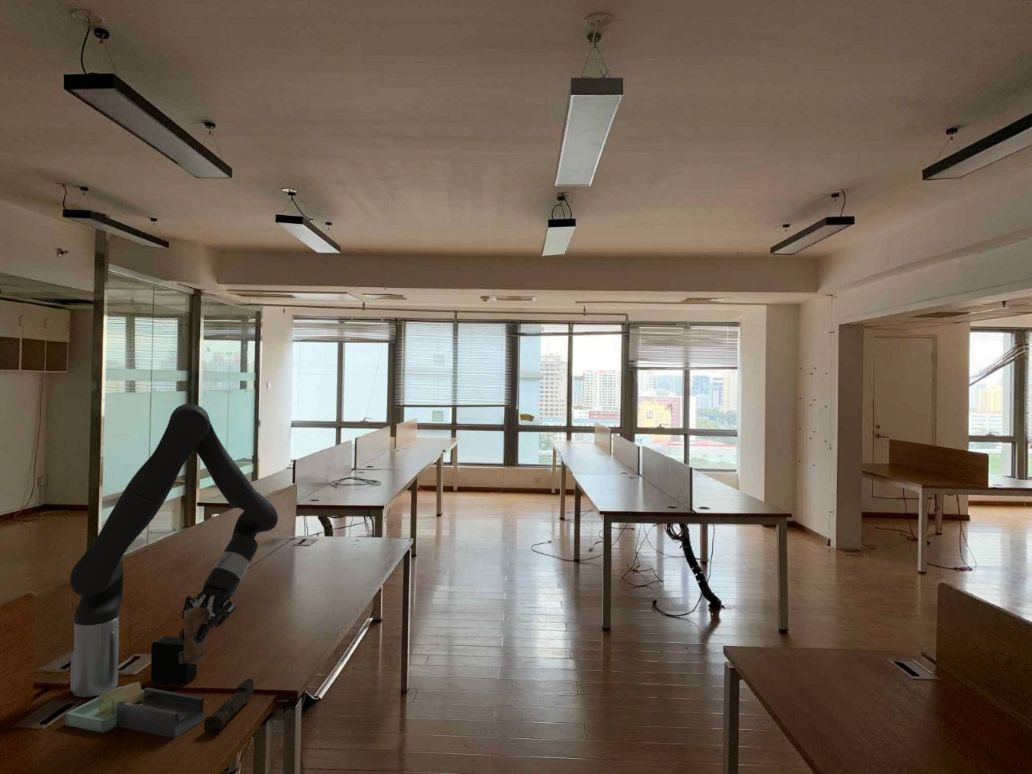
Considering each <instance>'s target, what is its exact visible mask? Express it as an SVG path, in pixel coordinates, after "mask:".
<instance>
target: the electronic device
mask: <svg viewBox="0 0 1032 774" xmlns="http://www.w3.org/2000/svg"><path fill="white" fill-rule="evenodd" d="M150 647H151V648H150V649H151V651H150V652H151V653H150V654H151V655H150V680H151V682H153V681H154V682H153V683H159V682H163V683H162V684H168V683H175V684H174V685H178V684H185V685H186V684H188V683H189V682H191V681H192V680H194V679H195V678H197V675H198V674H197V672H198V666H197V665H198V664H190V663H182V664H180V663H179V653H180V652H182V651H184V641H182V640H181V639H180V638H179V637H176V636H174V637H173V636H163V637H160V638H159V639H158V640H156V639H155V640H154V641H153V642H152V643H151V646H150ZM193 678H194V679H193Z"/></svg>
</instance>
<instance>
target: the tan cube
mask: <svg viewBox="0 0 1032 774" xmlns="http://www.w3.org/2000/svg"><path fill="white" fill-rule="evenodd" d="M116 690H118V689H116V688H113V689H111V690H109V691H107V692H105V693H103V694H101V695H97V698H98V714H102V715H107V716H111V715H113V714H115V713H117V710H115V706H114V702H113V698H112V694H111V693H112V692H114V691H116Z"/></svg>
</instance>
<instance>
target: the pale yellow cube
mask: <svg viewBox="0 0 1032 774" xmlns="http://www.w3.org/2000/svg"><path fill="white" fill-rule="evenodd" d="M141 685H142V684H141V682H140V681H137V682H133V683H130V684H126V685H123V686H124V687H122V688H120V689H118V690H116V691H114V692H112V693H111V694H112V698H113V702H114V706H115V710H117V703H118V702H120V701H122V702H127V703H132V704H135V703H137V702H139V701H141V700H143V699H144V697H143V693H142V690H143V689H142V686H141Z"/></svg>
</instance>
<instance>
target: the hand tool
mask: <svg viewBox="0 0 1032 774" xmlns="http://www.w3.org/2000/svg"><path fill="white" fill-rule="evenodd" d="M253 695H254V681H253V679H252V678H247V679H244V681H242V682H241V683H240V684H239V685H237V687H236V691H235V692H234V693H233V695H231V696H230V697H229V698H228V699H227V700H226V701H225V702H224V703H223V704H222V705H220V707H219V708H217V710H215V711H214V712H213V713H212V714H211V715H209V716H206V718H205V719H204V720H203V721H204V722H203V730H204V732H205V733H206V734H214V735H215V734H219V733H221V732H222V730H223V729H224V728H225V724H227V723H228V722H229V721H230V719H232V717H233V716H235V715H236V714H237V712H238V711H239V710H240V709H242V707H243V706H246V705H248V704H249V703H250V701H251V700H252V697H253Z"/></svg>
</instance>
